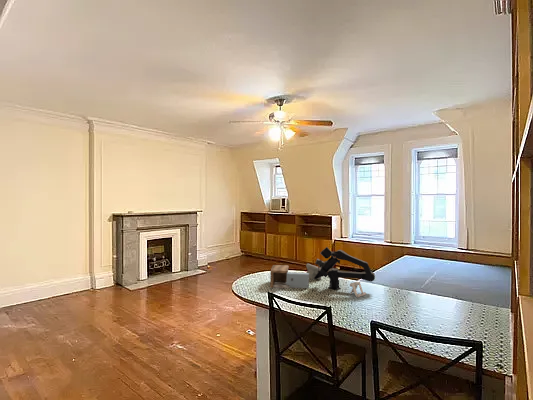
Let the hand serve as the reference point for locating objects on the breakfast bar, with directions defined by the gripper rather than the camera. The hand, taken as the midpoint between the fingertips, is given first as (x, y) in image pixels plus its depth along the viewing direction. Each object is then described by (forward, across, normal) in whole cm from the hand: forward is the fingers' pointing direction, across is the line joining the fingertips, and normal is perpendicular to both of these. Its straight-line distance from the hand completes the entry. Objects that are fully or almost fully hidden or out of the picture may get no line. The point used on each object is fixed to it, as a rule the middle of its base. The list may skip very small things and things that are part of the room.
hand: (314, 278), depth 229 cm
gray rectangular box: (+13, 0, -4) cm, 14 cm away
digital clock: (+5, -27, +5) cm, 28 cm away
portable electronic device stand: (-14, +14, +25) cm, 32 cm away
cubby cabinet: (+22, -4, -13) cm, 26 cm away
